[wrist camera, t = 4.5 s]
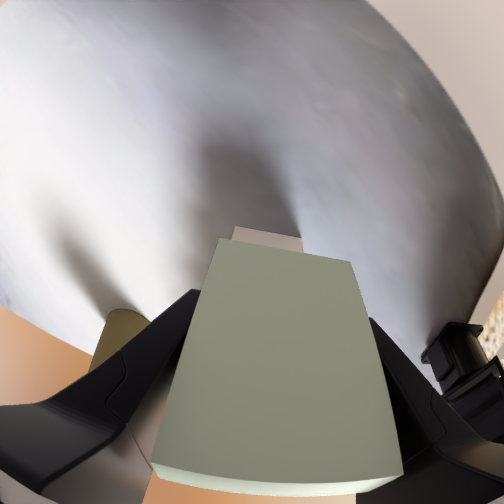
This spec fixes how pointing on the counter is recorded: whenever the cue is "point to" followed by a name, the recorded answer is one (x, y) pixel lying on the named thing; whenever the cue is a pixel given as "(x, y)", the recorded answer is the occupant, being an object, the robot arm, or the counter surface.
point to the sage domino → (278, 382)
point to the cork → (117, 333)
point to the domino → (268, 239)
